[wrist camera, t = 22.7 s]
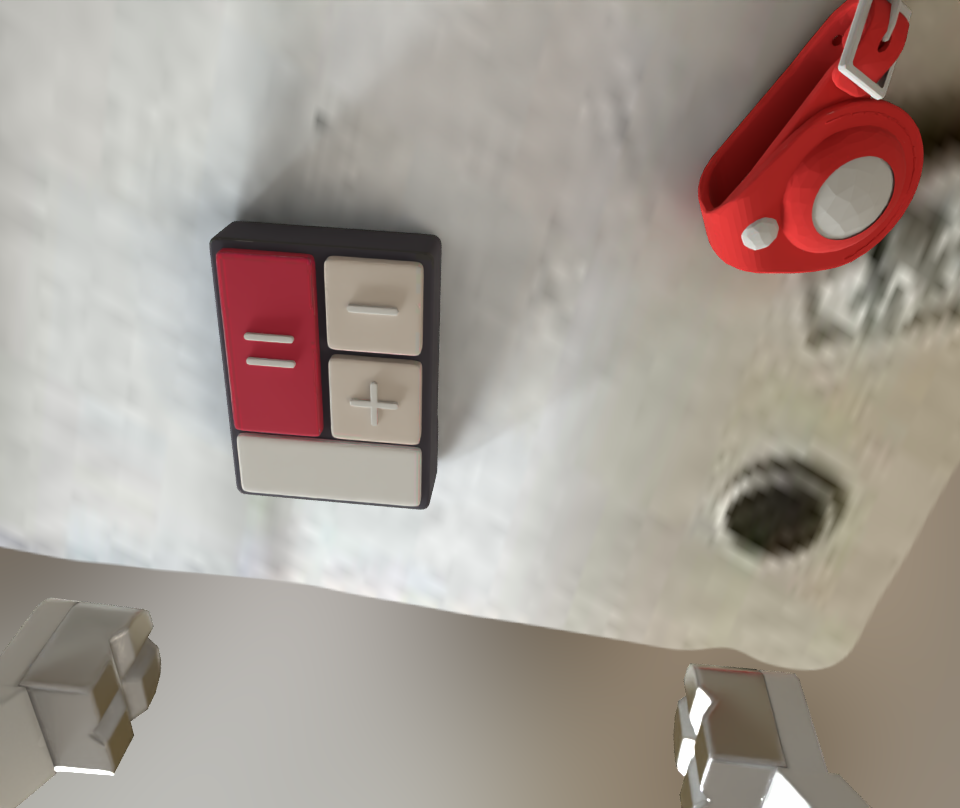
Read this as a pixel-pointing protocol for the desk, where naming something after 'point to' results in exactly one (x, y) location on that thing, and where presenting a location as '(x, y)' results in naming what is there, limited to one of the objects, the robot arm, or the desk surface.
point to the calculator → (330, 361)
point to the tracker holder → (818, 153)
